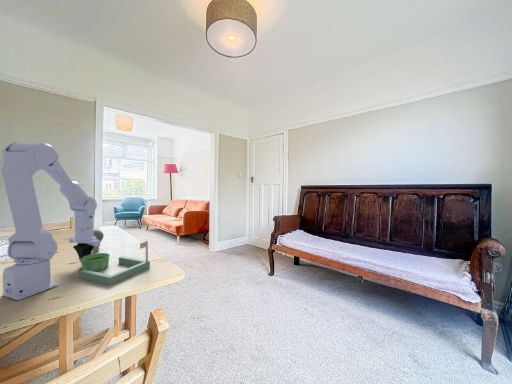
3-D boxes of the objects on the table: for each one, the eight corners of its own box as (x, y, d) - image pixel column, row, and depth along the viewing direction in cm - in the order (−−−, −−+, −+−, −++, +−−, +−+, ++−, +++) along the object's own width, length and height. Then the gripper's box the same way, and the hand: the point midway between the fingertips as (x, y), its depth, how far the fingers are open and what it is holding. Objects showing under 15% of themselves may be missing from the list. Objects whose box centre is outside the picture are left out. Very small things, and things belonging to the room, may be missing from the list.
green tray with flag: (110, 285, 70) (109, 252, 69) (79, 278, 74) (78, 247, 74) (149, 267, 85) (149, 240, 84) (122, 262, 89) (121, 236, 89)
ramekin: (81, 266, 84) (81, 255, 84) (109, 262, 89) (109, 251, 89) (79, 274, 77) (78, 262, 77) (109, 269, 82) (109, 258, 82)
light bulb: (95, 253, 99) (95, 231, 99) (84, 252, 101) (84, 231, 100) (106, 249, 105) (106, 229, 105) (96, 248, 106) (96, 228, 106)
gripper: (107, 227, 86) (108, 261, 86) (82, 224, 91) (83, 256, 91) (89, 230, 79) (89, 267, 80) (62, 227, 84) (63, 262, 84)
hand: (84, 262), depth 85 cm, fingers closed
